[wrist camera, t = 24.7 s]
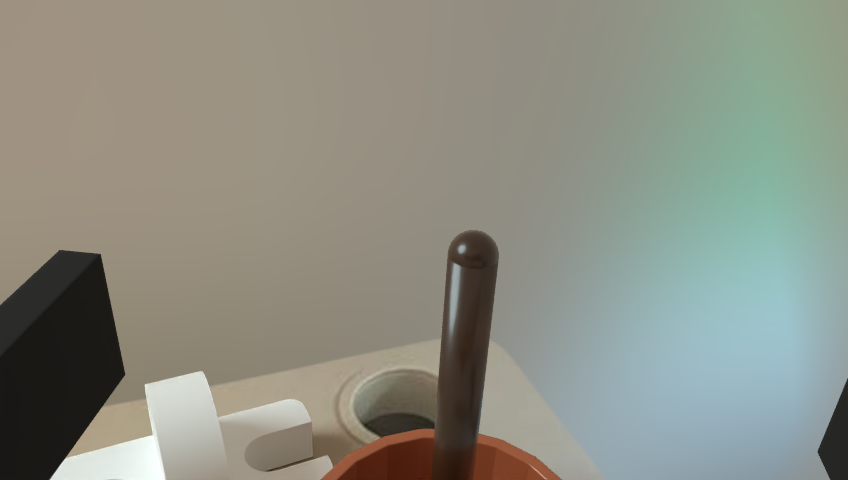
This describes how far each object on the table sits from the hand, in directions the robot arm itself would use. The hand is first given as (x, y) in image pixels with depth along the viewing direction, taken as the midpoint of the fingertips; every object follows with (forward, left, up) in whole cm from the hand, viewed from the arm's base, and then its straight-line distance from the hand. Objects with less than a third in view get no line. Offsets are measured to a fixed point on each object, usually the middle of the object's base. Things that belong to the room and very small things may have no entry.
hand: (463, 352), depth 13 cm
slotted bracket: (+15, -12, -23) cm, 30 cm away
